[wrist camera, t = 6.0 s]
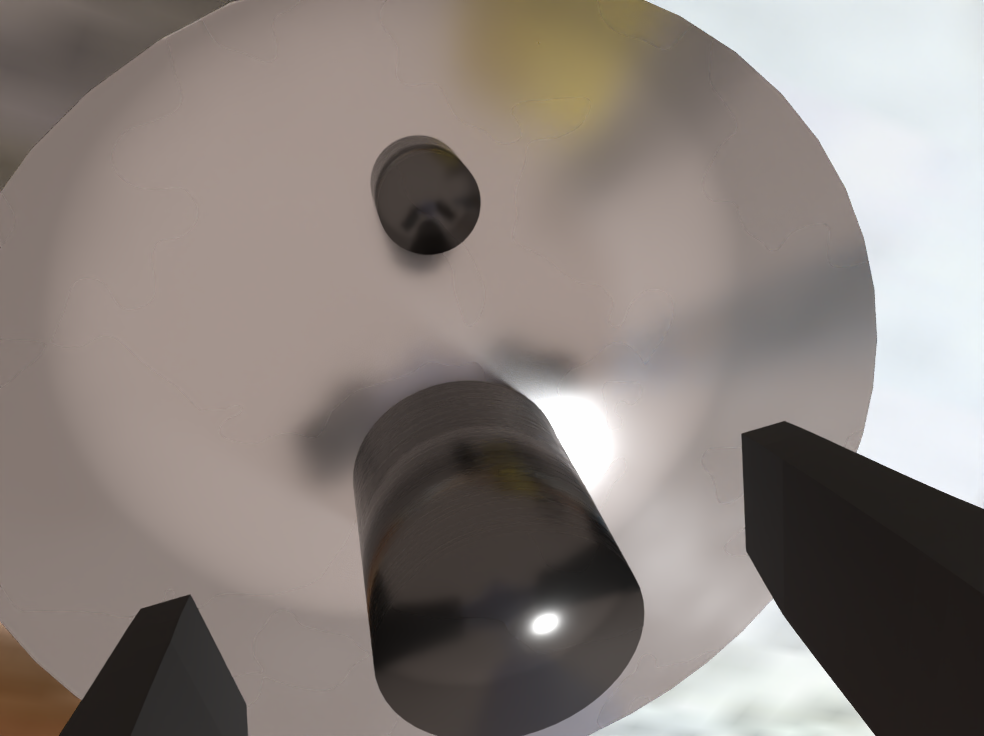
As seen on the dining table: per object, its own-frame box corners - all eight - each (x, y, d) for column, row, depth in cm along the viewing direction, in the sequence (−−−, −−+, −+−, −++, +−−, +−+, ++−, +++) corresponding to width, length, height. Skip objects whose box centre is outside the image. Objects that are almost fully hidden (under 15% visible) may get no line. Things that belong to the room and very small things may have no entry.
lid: (807, 651, 17) (948, 842, 14) (133, 824, 15) (81, 1105, 12) (904, -96, 11) (1230, -121, 7) (-266, 34, 9) (-686, 98, 5)
